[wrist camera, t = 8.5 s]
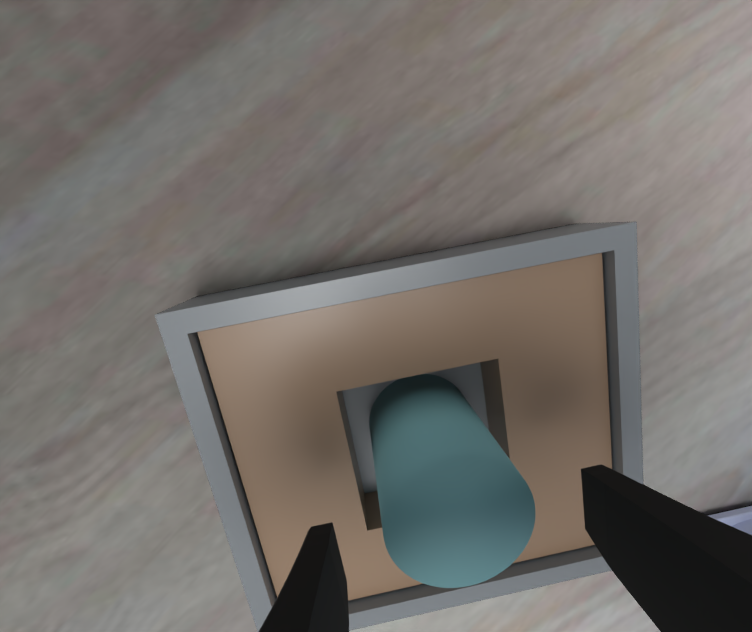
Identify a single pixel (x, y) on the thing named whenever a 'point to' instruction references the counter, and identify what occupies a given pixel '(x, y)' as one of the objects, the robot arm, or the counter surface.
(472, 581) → the teal peg
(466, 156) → the counter surface
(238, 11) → the counter surface
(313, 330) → the bore box
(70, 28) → the counter surface
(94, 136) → the counter surface
